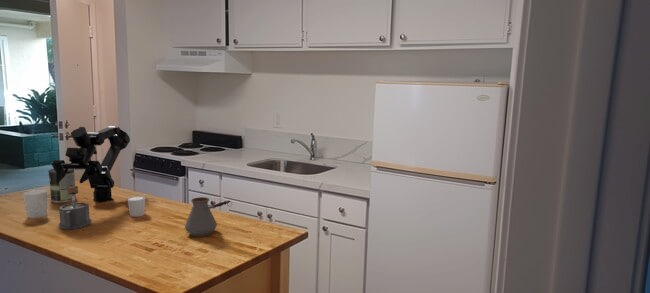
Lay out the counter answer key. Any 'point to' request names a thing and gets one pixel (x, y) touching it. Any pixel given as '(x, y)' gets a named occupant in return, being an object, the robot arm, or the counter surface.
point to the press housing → (74, 217)
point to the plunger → (73, 198)
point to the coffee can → (61, 186)
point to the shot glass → (136, 206)
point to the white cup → (36, 203)
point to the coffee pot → (202, 217)
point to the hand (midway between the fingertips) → (68, 182)
